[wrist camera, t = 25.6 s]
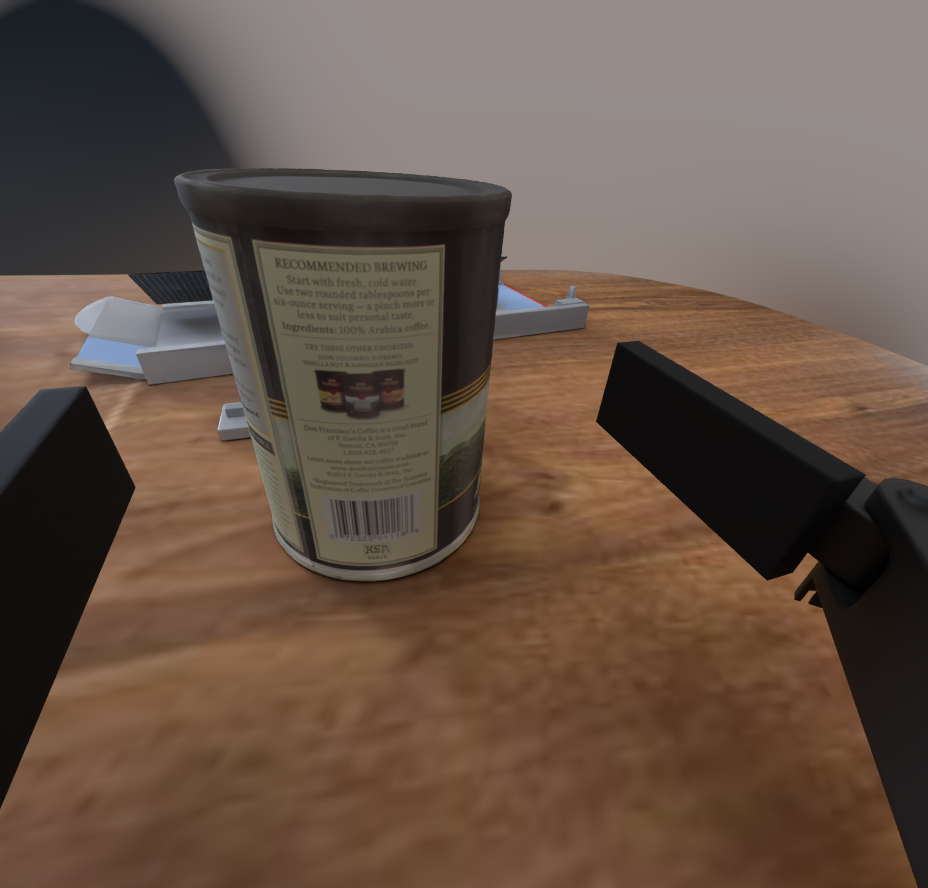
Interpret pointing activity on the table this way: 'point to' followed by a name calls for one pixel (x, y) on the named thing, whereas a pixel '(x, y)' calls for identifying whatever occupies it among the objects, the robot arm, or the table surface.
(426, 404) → the coffee can
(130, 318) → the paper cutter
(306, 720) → the table surface
